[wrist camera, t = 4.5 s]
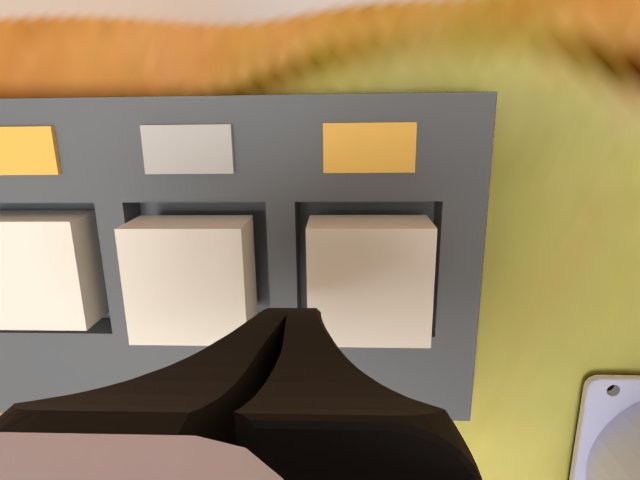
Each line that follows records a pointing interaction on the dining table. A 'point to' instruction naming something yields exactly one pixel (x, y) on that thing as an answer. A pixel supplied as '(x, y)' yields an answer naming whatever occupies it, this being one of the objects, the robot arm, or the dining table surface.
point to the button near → (372, 278)
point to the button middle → (186, 277)
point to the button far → (50, 270)
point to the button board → (255, 210)
